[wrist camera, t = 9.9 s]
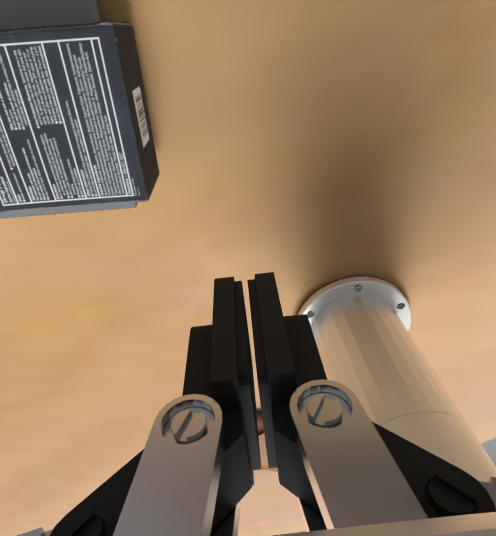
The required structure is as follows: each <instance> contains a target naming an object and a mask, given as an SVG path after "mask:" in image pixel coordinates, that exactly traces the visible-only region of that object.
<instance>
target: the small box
mask: <svg viewBox="0 0 496 536" xmlns="http://www.w3.org/2000/svg"><path fill="white" fill-rule="evenodd" d="M158 176H159V168H158V163H157V157H156V152H155V147H154V141H153V136H152V131H151V125H150V119H149V114H148V109H147V103H146V97H145V92H144V87H143V81H142V75H141V70H140V64H139V59H138V53H137V48H136V42H135V37H134V31H133V26H132V25H131V24H130V23H127V22H125V21H123V22H115V21H111V20H107V19H106V20H101V21H97V22H95V23H85V24H68V25H55V26H40V27H28V28H15V29H2V30H0V212H7V211H11V210H23V209H36V208H50V207H65V206H78V205H89V204H104V203H115V202H129V201H139V202H143V201H148V200H149V198H150V196H151V193H152V191H153V189H154V186H155V183H156V181H157V179H158Z"/></svg>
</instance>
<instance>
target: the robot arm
mask: <svg viewBox="0 0 496 536" xmlns="http://www.w3.org/2000/svg"><path fill="white" fill-rule="evenodd" d="M248 289H249V299H250V309H251V319H252V329H253V339H254V349H255V359H256V369H257V378H258V387H259V395H260V403H261V411H262V419H263V427H264V435H265V443H266V451H267V459H268V467H269V468H278V475H279V482H280V484H281V485H282V486H284V487H285V488H286V489H288V490H289V491H290V492H291V493H293V494H294V495H295V496H296V498H297V504H298V508H299V511H300V514H301V517H302V521H303V524H304V527H305V530H306V532H300V533H291V534H282V535H273V536H496V466H495V465H494V463H493V462H492V460H491V459H490V457H489V456H488V455H487V453H486V451H485V450H484V448H483V447H482V445H481V444H480V442H479V441H478V439H477V438H476V436H475V435H474V433H473V431H472V430H471V428H470V427H469V425H468V424H467V422H466V421H465V419H464V417H463V416H462V414H461V413H460V411H459V409H458V408H457V406H456V405H455V403H454V402H453V400H452V399H451V397H450V396H449V394H448V392H447V391H446V389H445V388H444V386H443V385H442V383H441V382H440V380H439V378H438V377H437V375H436V374H435V372H434V371H433V369H432V368H431V366H430V365H429V363H428V361H427V360H426V358H425V357H424V355H423V354H422V352H421V351H420V349H419V347H418V346H417V344H416V343H415V341H414V340H413V338H412V337H411V335H410V333H409V330H410V326H411V318H412V315H411V309H410V306H409V304H408V302H407V300H406V298H405V297H404V296H403V294H402V293H401V292H400V291H399V290H398V289H397V288H396V287H395V286H394V285H392V284H390V283H388V282H387V281H384V280H381V279H378V278H373V277H365V276H364V277H351V278H346V279H341V280H339V281H336V282H333V283H331V284H329V285H327V286H325V287H323V288H321V289H320V290H318V291H317V292H316V293H315V294H313V295H312V296H311V297H310V298H309V299H308V300H307V301H306V302H305V303H304V305H303V306H302V308H301V309H300V311H299V313H298V315H293V316H284V317H283V313H282V309H281V304H280V300H279V295H278V290H277V286H276V281H275V277H274V272H270V273H261V274H255V279H253V280H248ZM260 469H261V458H260V446H259V435H258V423H257V412H256V401H255V389H254V378H253V367H252V357H251V349H250V341H249V333H248V326H247V318H246V310H245V302H244V295H243V287H242V281H236V282H235V281H234V277H227V278H218V279H215V280H214V301H213V324H212V325H206V326H197V327H192V328H191V330H190V337H189V346H188V354H187V362H186V371H185V379H184V387H183V396H181V397H179V398H176V399H174V400H172V401H171V402H169V403H168V404H166V405H165V406H164V407H163V408H162V409H161V410H160V411H159V413H158V415H157V417H156V419H155V421H154V423H153V426H152V429H151V432H150V434H149V437H148V440H147V443H146V445H145V448H144V449H143V450H142V451H141V452H140V453H139V454H137V455H136V456H135V457H134V458H133V459H131V460H130V461H129V462H128V463H127V464H126V465H124V466H123V467H122V468H121V469H120V470H119V471H117V472H116V473H115V474H114V475H113V476H111V477H110V478H109V479H108V480H107V481H106V482H104V483H103V484H102V485H101V486H100V487H98V488H97V489H96V490H95V491H94V492H93V493H91V494H90V495H89V496H88V497H87V498H85V499H84V500H83V501H82V502H81V503H80V504H78V505H77V506H76V507H75V508H74V509H73V510H71V511H70V512H69V513H68V514H67V515H66V516H65V517H64V518H63V519H62V520H61V521H60V522H59V523H58V524H57V525H56V526H55V527H54V529H52V530H49V531H46V532H44V530H43V528H42V527H41V528H38V529H35V530H32V531H29V532H26V533H23V534H20V535H17V536H237V534H238V525H239V516H240V502H239V501H240V500H241V499H242V498H243V497H244V496H245V494H246V493H247V492H248V491H249V490H250V489H251V488H252V485H254V478H253V470H260Z"/></svg>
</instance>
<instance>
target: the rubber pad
mask: <svg viewBox="0 0 496 536" xmlns="http://www.w3.org/2000/svg"><path fill="white" fill-rule="evenodd" d="M97 21H101V19H100V14H99V10H98V5H97V0H0V30H2V29H15V28H28V27H40V26H55V25H68V24H85V23H95V22H97ZM137 204H138V201H129V202H115V203H104V204H89V205H78V206H65V207H50V208H36V209H23V210H11V211H7V212H0V219H1V218H13V217H26V216H38V215H51V214H63V213H76V212H88V211H101V210H113V209H126V208H136V206H137Z"/></svg>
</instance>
